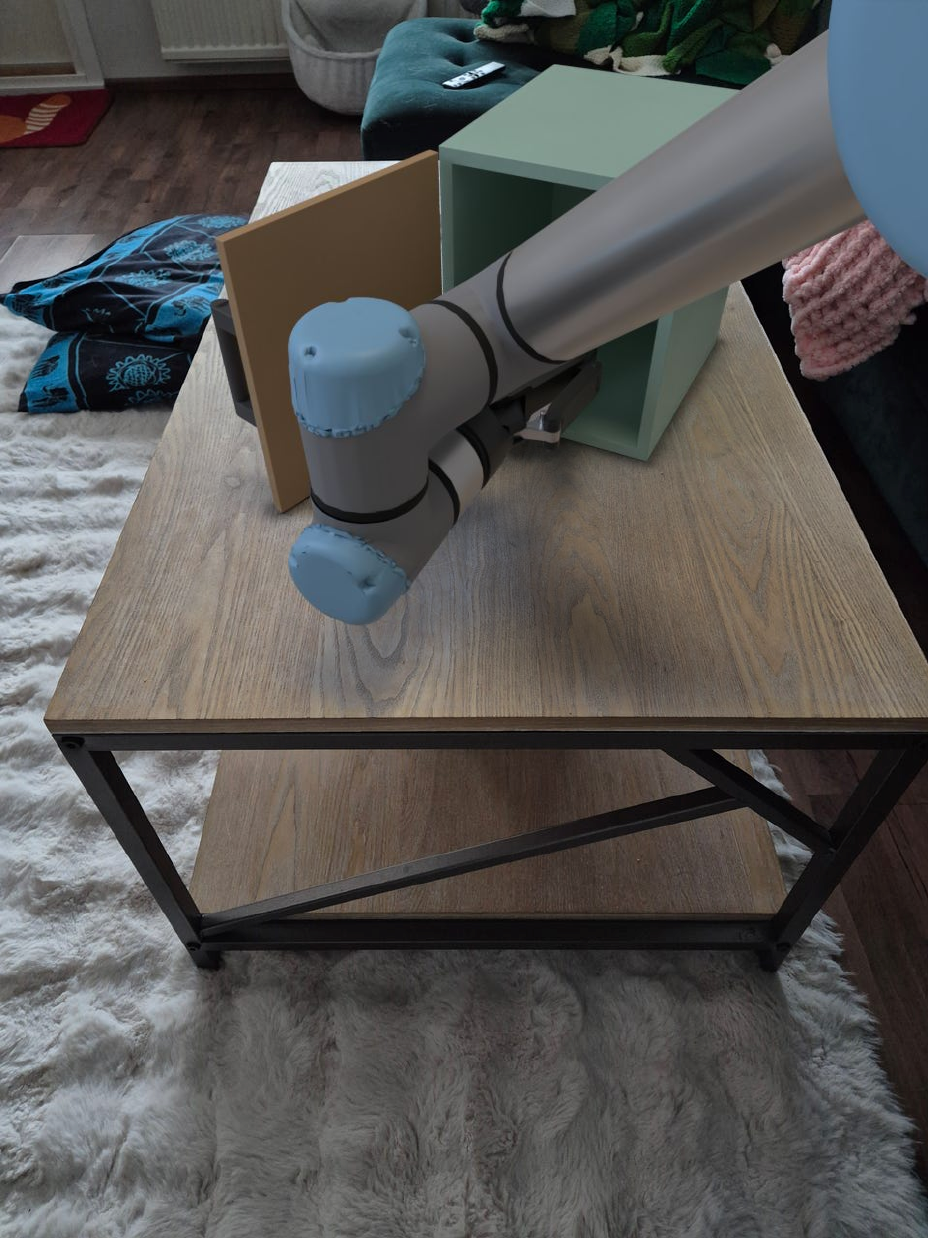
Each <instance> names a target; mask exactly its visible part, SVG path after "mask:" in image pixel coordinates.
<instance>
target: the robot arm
mask: <svg viewBox="0 0 928 1238" xmlns="http://www.w3.org/2000/svg"><path fill="white" fill-rule="evenodd" d="M828 22H829V24H828V28H827V29H826V30H825V31H824V32H823V31H822V33H820V34H819V35H817V36H816V37H815V38H813V39H812V40H810V41H809V42H808V43H806V44H805V45H803V46H802V47H800V48H799V49H798V50H797V51H795V52H793V53H792V54H791V55H789V56H788V57H786V58H784V59H783V60H782V61H781V62H779V63H778V64H776V65H775V66H773V67H772V68H771V69H768V71H766V72H765V73H763V74H762V75H761V76H759V77H758V78H756V79H755V80H754V81H752V82H751V83H749V84H748V85H746V86H745V87H743V88H742V89H740V90H741V91H739V92H738V93H736V94H735V95H734V96H732V97H731V98H729V99H728V100H726V101H725V102H724V103H722V104H721V105H719V106H718V107H716V108H715V109H714V110H712V111H711V112H709V113H708V114H707V115H705V116H704V117H702V118H701V119H699V120H698V121H697V122H695V123H694V124H692V125H691V126H689V127H688V128H687V129H685V130H684V131H682V132H681V133H679V134H678V135H677V136H675V137H674V138H672V139H671V140H669V141H668V142H667V143H665V144H664V145H662V146H661V147H659V148H658V149H657V150H655V151H654V152H652V153H651V154H649V155H648V156H647V157H645V158H644V159H642V160H641V161H639V162H638V163H637V164H635V165H634V166H632V167H631V168H629V169H628V170H627V171H625V172H624V173H622V174H621V175H620V176H618V177H617V178H615V179H614V180H612V181H611V182H610V183H608V184H607V185H605V186H604V187H602V188H601V189H600V190H598V191H597V192H595V193H594V194H592V195H591V196H590V197H588V198H587V199H585V200H584V201H582V202H581V203H580V204H578V205H577V206H575V207H574V208H572V209H571V210H570V211H568V212H567V213H565V214H564V215H562V216H561V217H560V218H558V219H557V220H555V221H554V222H552V223H551V224H550V225H548V226H547V227H545V228H544V229H543V230H541V231H540V232H538V233H537V234H535V235H534V236H533V237H531V238H530V239H528V240H527V241H525V242H524V243H523V244H521V245H520V246H518V247H517V248H515V249H514V250H512V251H510V252H509V253H507V254H506V255H504V256H503V257H501V258H500V259H499V260H497V261H496V262H494V263H493V264H491V265H490V266H489V267H487V268H486V269H484V270H483V271H481V272H480V273H478V274H477V275H475V276H473V277H472V278H470V279H469V280H467V281H465V282H463V283H461V284H460V285H458V286H456V287H455V288H453V289H451V290H449V291H448V292H446V293H444V294H443V293H442V295H441V296H439V297H437V298H435V299H434V300H432V301H429V302H427V303H425V304H423V305H420V306H418V307H416V308H414V309H412V310H410V311H409V312H408V311H407V310H405V309H404V308H402V307H401V306H399V305H397V304H395V303H392V302H389V301H386V300H382V299H375V298H368V297H355V298H349V299H348V300H347V301H346V302H341V303H335V302H328V303H325V304H322V305H320V306H318V307H316V308H314V309H312V310H311V311H309V312H308V313H306V314H305V315H304V316H303V317H302V318H301V319H300V320H299V321H298V322H297V323H296V325H295V326H294V328H293V330H292V332H291V335H290V338H289V344H288V352H289V373H290V383H291V397H292V405H293V408H294V412H295V415H296V416H297V419H298V424H299V428H300V433H301V438H302V442H303V447H304V451H305V456H306V461H307V465H308V470H309V475H310V497H309V498H310V502H311V507H312V512H313V519H312V522H311V523H310V524H308V525H307V526H306V527H304V528H303V530H302V531H301V532H300V535H299V537H298V538H297V540H296V541H295V543H294V544H293V546H292V547H291V549H290V551H289V555H288V559H287V566H288V573H289V575H290V578H291V580H292V582H293V584H294V586H295V588H296V589H297V590H298V592H299V593H300V594H301V596H302V597H303V598H304V599H305V600H306V602H308V603H309V604H310V605H311V606H312V607H314V609H316V610H317V611H319V612H320V613H322V614H323V615H325V616H327V617H328V618H330V619H335V620H337V621H339V622H342V623H343V624H345V625H350V626H367V625H370V624H373V623H376V622H378V621H380V620H381V619H382V618H383V617H384V616H385V615H386V614H387V613H388V611H390V610H391V608H392V607H393V606H394V605H395V604H396V602H397V601H398V600H399V599H400V597H401V596H403V595H405V594H407V593H408V592H409V591H410V589H411V587H412V584H413V583H414V582H415V580H416V579H417V577H418V576H419V575H420V573H421V571H422V570H423V569H424V568H425V566H426V565H427V564H428V562H429V561H430V560H431V559H432V557H433V555H434V554H435V553H436V551H437V550H438V549H439V548H440V546H441V545H442V543H443V541H444V540H445V539H446V538H447V536H448V535H449V533H450V531H452V529H453V528H454V526H455V525H456V524H457V523H458V521H460V519H461V518H462V517H463V515H464V514H465V512H466V511H467V510H468V508H469V507H470V506H471V504H472V503H473V502H474V501H475V500H476V498H477V497H478V496H479V494H480V492H481V490H483V489H484V488H485V487H486V485H487V484H488V482H490V480H491V479H492V477H493V476H494V475H495V474H496V472H497V471H498V470H499V468H500V467H501V466H502V464H503V462H505V459H506V457H507V456H508V454H509V452H510V450H511V449H513V448H515V447H517V446H520V445H521V444H522V443H524V441H525V440H534V441H535V440H536V441H542V444H543V445H542V446H543V447H542V448H544V450H546V451H550V452H554V451H557V450H558V449H559V447H560V443H561V438H562V437H561V434H562V433H563V432H564V431H565V430H566V429H567V428H568V426H569V425H570V424H571V423H572V422H573V421H574V420H575V419H576V417H577V416H578V415H579V414H580V413H581V412H582V411H583V410H584V409H585V407H586V406H587V405H588V404H589V403H590V402H591V401H592V400H593V398H594V397H595V396H596V395H597V394H598V393H599V390H600V382H601V374H602V364H601V363H600V362H596V361H595V360H596V357H597V348H598V347H599V346H601V345H603V344H605V343H607V342H609V341H611V340H614V339H616V338H618V337H620V336H622V335H624V334H626V333H628V332H631V331H633V330H635V329H637V328H639V327H641V326H643V325H646V324H648V323H650V322H652V321H654V320H656V319H658V318H660V317H663V316H665V315H667V314H669V313H671V312H673V311H675V310H677V309H680V308H682V307H684V306H686V305H688V304H690V303H692V302H695V301H697V300H699V299H701V298H703V297H705V296H707V295H709V294H712V293H714V292H716V291H718V290H720V289H722V288H724V287H726V286H729V285H733V284H735V283H737V282H739V281H741V280H743V279H746V278H748V277H750V276H752V275H754V274H756V273H758V272H761V271H762V270H765V269H767V268H769V267H771V266H773V265H775V264H777V263H780V262H782V261H784V260H786V259H788V258H790V257H793V256H795V255H797V254H799V253H801V252H803V251H805V250H807V249H809V248H812V247H814V246H816V245H818V244H821V243H822V242H824V241H827V240H829V239H831V238H833V237H835V236H837V235H840V234H841V233H844V232H846V231H848V230H850V229H853V228H854V227H856V226H858V225H860V224H862V223H864V222H867V221H869V222H870V223H871V225H872V226H873V227H874V228H875V230H876V231H877V233H878V234H879V236H881V237H882V239H883V240H884V241H885V243H886V244H887V245H888V246H889V247H890V248H891V250H892V251H893V252H894V253H895V254H896V255H897V256H898V257H899V258H900V259H901V260H902V262H904V263H905V264H906V265H907V266H909V268H911V269H912V270H914V271H915V272H916V273H917V274H919V275H920V276H921V277H923V278H924V279H926V280H927V281H928V0H832V1H831V8H830V14H829V21H828ZM729 287H730V286H729ZM550 403H551V404H550ZM548 404H550V405H549V407H548V410H542V411H541V412H540V416H538V417H537V418H536V419H535V420H534V421H531V422H528V421H529V420H530V417H531V415H532V414H533V413H535V412H537V411H538V410H540V409H542V408H543V407H545V406H546V405H548Z"/></svg>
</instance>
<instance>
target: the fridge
mask: <svg viewBox="0 0 928 1238" xmlns="http://www.w3.org/2000/svg"><path fill="white" fill-rule="evenodd" d="M741 90H742V89H735V88H734V89H733V88H727V87H719V86H712V85H706V84H698V83H691V82H685V81H676V80H670V79H663V78H657V77H649V76H648V77H647V76H640V75H634V74H627V73H618V72H613V71H612V72H611V71H605V70H598V69H591V68H584V67H577V66H569V65H563V64H562V65H561V64H552V65H551V66H549V67H548V68H546V69H545V70H544V71H542V72H541V73H540V74H538V75H536V76H535V77H534V78H532V79H531V80H530V81H528V82H527V83H526V84H524V85H522V86H521V87H520V88H518V89H517V90H516V91H514V92H513V93H511V94H509V96H507V97H505V98H504V99H503V100H501V101H500V102H498V103H497V104H496V105H494V106H492V108H490V109H489V110H487V111H486V112H484V113H482V114H481V115H480V116H479V117H477V118H476V119H474V120H473V121H472V122H470V123H469V124H467V125H466V126H465V127H463V128H462V129H460V130H459V131H458V132H456V133H455V134H453V135H452V136H451V137H449V138H447V139H446V140H445V141H443V142H442V143H441V144H439V145H438V157H439V193H440V214H441V265H442V294H444V293H446V292H448V291H449V290H451V289H453V288H455V287H456V286H458V285H460V284H461V283H463V282H465V281H467V280H469V279H470V278H472V277H473V276H475V275H477V274H478V273H480V272H481V271H483V270H484V269H486V268H487V267H489V266H490V265H491V264H493V263H494V262H496V261H497V260H499V259H500V258H501V257H503V256H504V255H506V254H507V253H509V252H510V251H512V250H514V249H515V248H517V247H518V246H520V245H521V244H523V243H524V242H525V241H527V240H528V239H530V238H531V237H533V236H534V235H535V234H537V233H538V232H540V231H541V230H543V229H544V228H545V227H547V226H548V225H550V224H551V223H552V222H554V221H555V220H557V219H558V218H560V217H561V216H562V215H564V214H565V213H567V212H568V211H570V210H571V209H572V208H574V207H575V206H577V205H578V204H580V203H581V202H582V201H584V200H585V199H587V198H588V197H590V196H591V195H592V194H594V193H595V192H597V191H598V190H600V189H601V188H602V187H604V186H605V185H607V184H608V183H610V182H611V181H612V180H614V179H615V178H617V177H618V176H620V175H621V174H622V173H624V172H625V171H627V170H628V169H629V168H631V167H632V166H634V165H635V164H637V163H638V162H639V161H641V160H642V159H644V158H645V157H647V156H648V155H649V154H651V153H652V152H654V151H655V150H657V149H658V148H659V147H661V146H662V145H664V144H665V143H667V142H668V141H669V140H671V139H672V138H674V137H675V136H677V135H678V134H679V133H681V132H682V131H684V130H685V129H687V128H688V127H689V126H691V125H692V124H694V123H695V122H697V121H698V120H699V119H701V118H702V117H704V116H705V115H707V114H708V113H709V112H711V111H712V110H714V109H715V108H716V107H718V106H719V105H721V104H722V103H724V102H725V101H726V100H728V99H729V98H731V97H732V96H734V95H735V94H736V93H738V92H739V91H741ZM729 290H730V285H729V286H726V287H724V288H722V289H720V290H718V291H716V292H714V293H712V294H709V295H707V296H705V297H703V298H701V299H699V300H697V301H695V302H692V303H690V304H688V305H686V306H684V307H682V308H680V309H677V310H675V311H673V312H671V313H669V314H667V315H665V316H663V317H660V318H658V319H656V320H654V321H652V322H650V323H648V324H646V325H643V326H641V327H639V328H637V329H635V330H633V331H631V332H628V333H626V334H624V335H622V336H620V337H618V338H616V339H614V340H611V341H609V342H607V343H605V344H603V345H601V346H599V347H598V348H597V357H596V360H595V361H596V362H600V363H601V364H602V374H601V382H600V390H599V393H598V394H597V395H596V396H595V397H594V398H593V400H592V401H591V402H590V403H589V404H588V405H587V406H586V407H585V409H584V410H583V411H582V412H581V413H580V414H579V415H578V416H577V417H576V419H575V420H574V421H573V422H572V423H571V424H570V425H569V426H568V428H567V429H566V430H565V431H564V432H563V433H562V434H561V438H563V439H566V440H570V441H573V442H577V443H580V444H584V445H587V446H590V447H594V448H598V449H601V450H605V451H608V452H612V453H615V454H619V455H623V456H626V457H629V458H632V459H635V460H636V459H637V460H640V461H643V462H647V461H648V460H649V458H650V457H651V454H652V453H653V451H654V450H655V448H656V446H657V444H658V443H659V441H660V439H661V438H662V436H663V434H664V432H665V431H666V429H667V427H668V426H669V424H670V423H671V421H672V419H673V417H674V415H675V413H676V412H677V410H678V409H679V407H680V405H681V403H682V402H683V400H684V398H685V396H686V395H687V393H688V391H689V390H690V388H691V386H692V385H693V383H694V381H695V380H696V378H697V376H698V374H699V373H700V371H701V369H702V368H703V366H704V364H705V363H706V361H707V359H708V357H709V356H710V354H711V352H712V351H713V349H714V347H715V345H716V344H717V341H718V338H719V332H720V330H721V329H720V328H721V324H722V319H723V315H724V313H725V312H724V311H725V307H726V303H727V299H728V294H729Z"/></svg>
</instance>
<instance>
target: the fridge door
mask: <svg viewBox="0 0 928 1238" xmlns="http://www.w3.org/2000/svg"><path fill="white" fill-rule="evenodd" d="M440 214H441V209H440V172H439V151H435V150H432V149H428V150H425V151H423V152H420V153H418V154H416V155H413V156H410V157H408V158H406V159H403V160H401V161H399V162H396V163H393V164H391V165H389V166H387V167H383V168H381V169H378V170H377V171H374V172H371V173H370V174H369V173H368V174H367V175H365V176H361V177H359V178H356V179H354V180H352V181H349V182H348V183H345V184H343V185H340V186H337V187H335V188H332V189H330V190H328V191H325V192H323V193H321V194H318V195H316V196H312V197H310V198H308V199H306V200H303V201H301V202H298V203H296V204H293V205H291V206H289V207H287V208H283V209H281V210H279V211H276V212H274V213H272V214H271V213H270V214H269V215H267V216H264V217H261V218H259V219H256V220H254V221H252V222H249V223H248V224H245V225H242V226H240V227H238V228H235V229H233V230H230V231H228V232H225V233H222V234H221V235H218V236H215V237H214V241H215V247H216V250H217V256H218V259H219V264H220V268H221V273H222V277H223V282H224V287H225V291H226V295H227V298H216V299H213V300H212V301H210V302H209V307H210V312H211V316H212V321H213V325H214V329H215V333H216V336H217V337H216V338H217V341H218V345H219V349H220V353H221V358H222V361H223V366H224V369H225V374H226V378H227V382H228V386H229V390H230V395H231V398H232V403H233V406H234V411H235V415H236V416H237V417H239V418H240V419H242V420H244V421H245V422H247V423H248V424H250V425H252V426H254V427H255V428H256V430H257V433H258V437H259V442H260V447H261V451H262V455H263V461H264V465H265V468H266V474H267V478H268V482H269V487H270V492H271V496H272V500H273V504H274V505H273V506H274V508H275V510H277V511H278V512H280V513H282V514H283V513H284V512H286V511H288V510H290V509H291V508H293V507H294V506H296V505H297V504H299V503H301V502H302V501H303V500H305V499H307V498H308V497H309V496H310V475H309V470H308V465H307V461H306V456H305V451H304V447H303V442H302V438H301V433H300V428H299V424H298V419H297V416H296V415H295V412H294V408H293V405H292V397H291V383H290V373H289V352H288V344H289V338H290V335H291V332H292V330H293V328H294V326H295V325H296V323H297V322H298V321H299V320H300V319H301V318H302V317H303V316H304V315H305V314H306V313H308V312H309V311H311V310H312V309H314V308H316V307H318V306H320V305H322V304H325V303H328V302H335V303H341V302H346V301H347V300H348V299H349V298H355V297H368V298H375V299H382V300H386V301H389V302H392V303H395V304H397V305H399V306H401V307H402V308H404V309H405V310H407V311H408V312H409V311H410V310H412V309H414V308H416V307H418V306H420V305H423V304H425V303H427V302H429V301H432V300H434V299H435V298H437V297H439V296H441V295H442V294H443V282H442V245H441V229H440Z"/></svg>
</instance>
